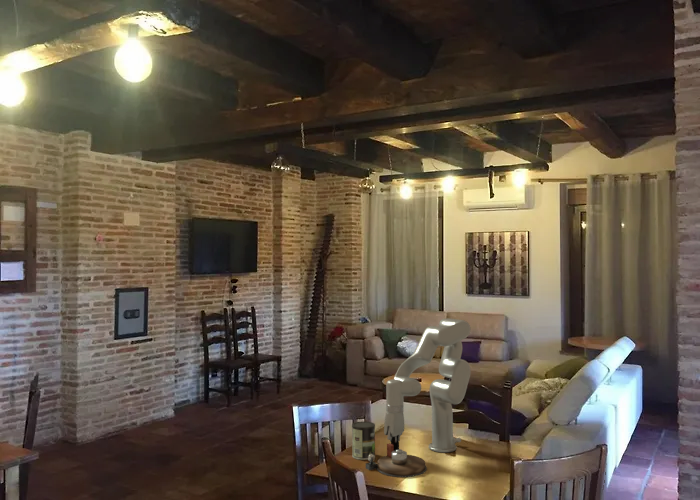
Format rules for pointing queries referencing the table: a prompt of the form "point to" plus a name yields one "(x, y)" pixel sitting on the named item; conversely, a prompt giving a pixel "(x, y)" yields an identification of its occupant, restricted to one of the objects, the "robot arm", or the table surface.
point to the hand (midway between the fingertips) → (395, 450)
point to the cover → (399, 457)
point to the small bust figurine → (371, 463)
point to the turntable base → (402, 476)
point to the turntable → (410, 468)
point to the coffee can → (363, 440)
